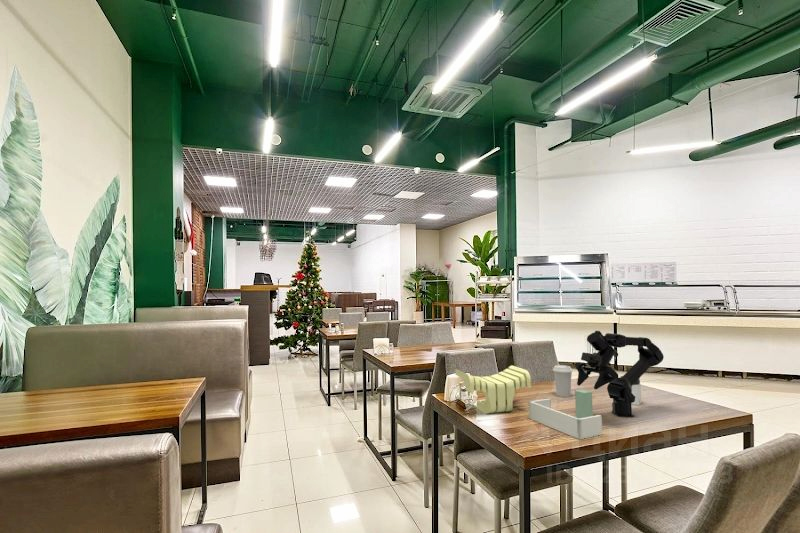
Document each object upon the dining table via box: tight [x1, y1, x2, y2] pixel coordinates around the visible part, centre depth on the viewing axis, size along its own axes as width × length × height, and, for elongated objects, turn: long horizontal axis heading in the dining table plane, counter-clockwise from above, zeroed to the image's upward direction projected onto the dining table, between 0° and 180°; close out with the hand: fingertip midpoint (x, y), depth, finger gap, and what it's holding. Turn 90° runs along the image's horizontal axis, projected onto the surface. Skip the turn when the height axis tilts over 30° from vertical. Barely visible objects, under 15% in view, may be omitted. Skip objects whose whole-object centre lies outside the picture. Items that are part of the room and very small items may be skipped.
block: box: [574, 389, 594, 419], centre depth 157 cm, size 4×4×12 cm
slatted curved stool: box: [455, 365, 532, 414], centre depth 176 cm, size 30×16×18 cm, turn 105°
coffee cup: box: [552, 364, 573, 399], centre depth 197 cm, size 10×10×15 cm
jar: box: [619, 375, 643, 406], centre depth 184 cm, size 9×8×12 cm
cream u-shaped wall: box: [528, 398, 603, 440], centre depth 152 cm, size 12×26×7 cm, turn 23°
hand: (586, 386), depth 159 cm, fingers open, 9 cm apart
